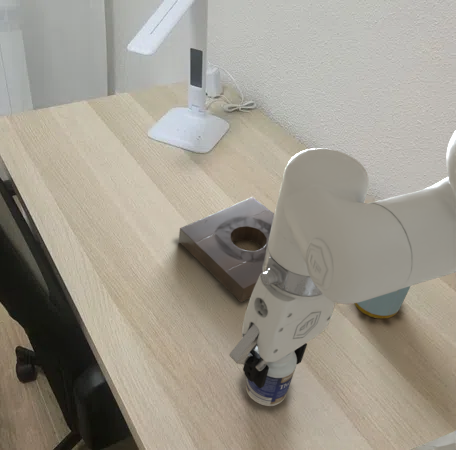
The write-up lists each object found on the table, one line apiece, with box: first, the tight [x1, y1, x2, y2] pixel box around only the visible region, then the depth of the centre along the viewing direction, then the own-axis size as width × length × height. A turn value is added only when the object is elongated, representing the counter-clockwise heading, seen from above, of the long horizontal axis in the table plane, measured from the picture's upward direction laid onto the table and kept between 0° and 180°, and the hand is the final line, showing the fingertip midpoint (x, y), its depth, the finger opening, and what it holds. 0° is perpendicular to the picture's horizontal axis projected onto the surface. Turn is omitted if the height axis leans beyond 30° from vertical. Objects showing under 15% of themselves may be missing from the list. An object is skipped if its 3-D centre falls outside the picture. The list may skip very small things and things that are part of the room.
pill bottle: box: [244, 346, 298, 407], centre depth 68 cm, size 5×5×10 cm
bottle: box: [353, 286, 411, 319], centre depth 78 cm, size 7×7×15 cm
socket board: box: [178, 196, 275, 303], centre depth 90 cm, size 16×16×3 cm
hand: (272, 366), depth 68 cm, fingers closed on pill bottle, 5 cm apart
